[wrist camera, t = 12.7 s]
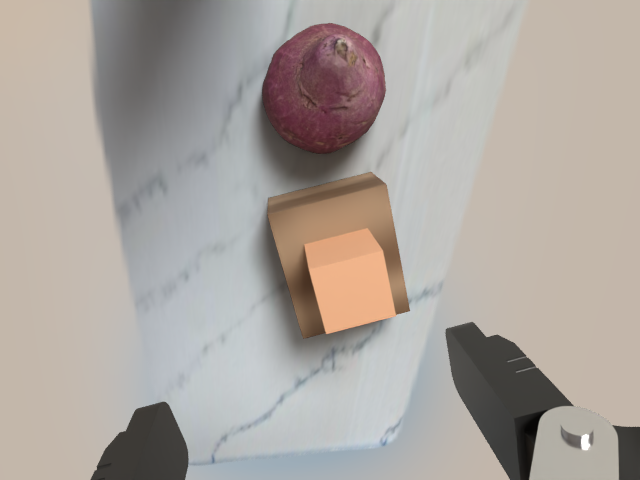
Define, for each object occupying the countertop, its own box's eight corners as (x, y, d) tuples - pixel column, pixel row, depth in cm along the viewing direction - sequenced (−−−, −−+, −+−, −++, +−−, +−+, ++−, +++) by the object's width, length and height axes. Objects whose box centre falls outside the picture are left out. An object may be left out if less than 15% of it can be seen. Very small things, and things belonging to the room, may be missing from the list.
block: (304, 244, 36) (308, 269, 31) (367, 228, 36) (383, 250, 31) (319, 301, 38) (326, 334, 33) (379, 285, 38) (396, 316, 33)
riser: (268, 197, 41) (267, 214, 35) (371, 171, 41) (386, 184, 35) (299, 307, 45) (303, 338, 39) (392, 283, 45) (409, 311, 39)
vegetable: (269, 37, 39) (233, -71, 24) (383, 44, 39) (418, -60, 24) (262, 153, 40) (223, 119, 25) (374, 161, 40) (402, 131, 25)
